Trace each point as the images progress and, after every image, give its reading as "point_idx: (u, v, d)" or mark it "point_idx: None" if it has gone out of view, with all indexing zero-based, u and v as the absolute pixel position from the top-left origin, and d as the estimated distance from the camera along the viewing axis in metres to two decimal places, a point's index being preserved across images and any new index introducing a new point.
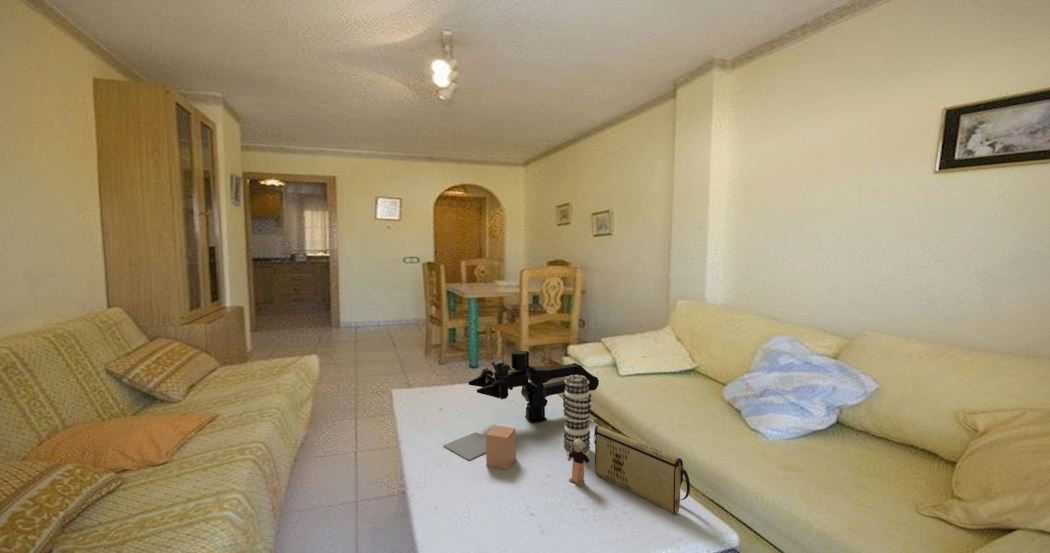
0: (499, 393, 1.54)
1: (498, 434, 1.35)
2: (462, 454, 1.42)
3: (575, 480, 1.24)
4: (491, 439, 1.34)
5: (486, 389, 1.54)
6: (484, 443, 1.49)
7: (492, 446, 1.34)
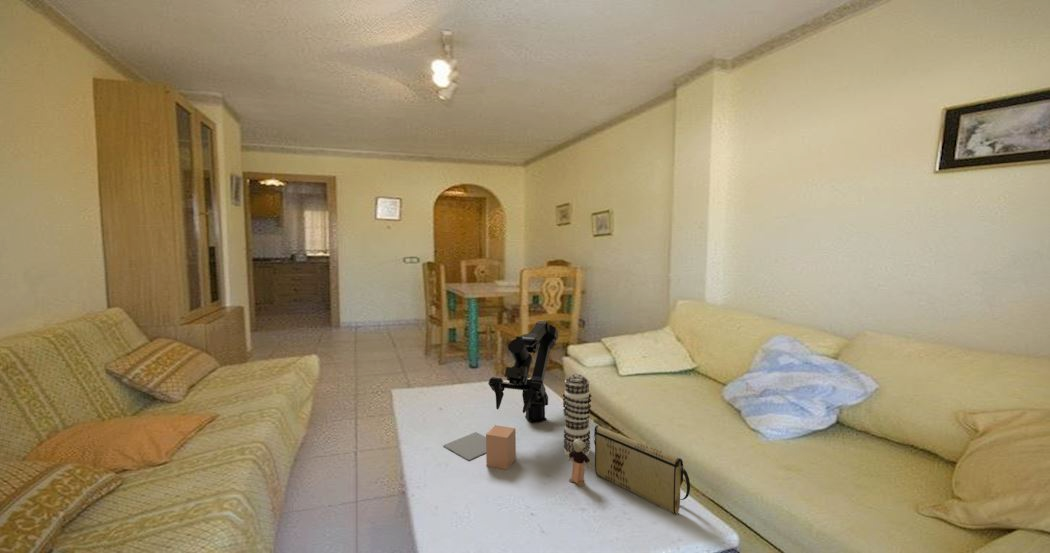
0: (538, 394, 1.46)
1: (498, 434, 1.35)
2: (462, 454, 1.42)
3: (575, 480, 1.24)
4: (491, 439, 1.34)
5: (528, 403, 1.44)
6: (484, 443, 1.49)
7: (492, 446, 1.34)
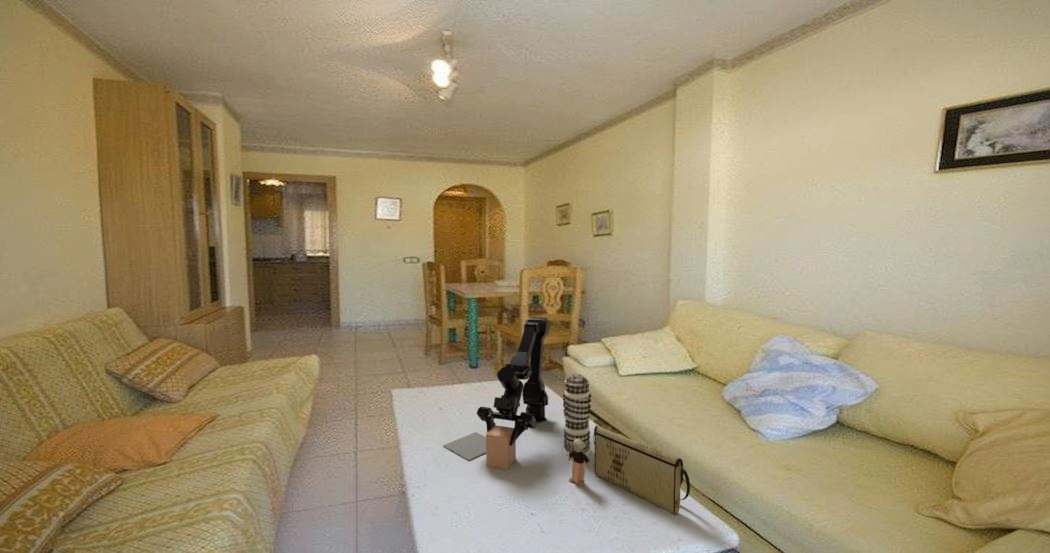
0: (526, 426, 1.38)
1: (498, 434, 1.35)
2: (462, 454, 1.42)
3: (575, 480, 1.24)
4: (491, 439, 1.34)
5: (516, 435, 1.36)
6: (484, 443, 1.49)
7: (492, 446, 1.34)
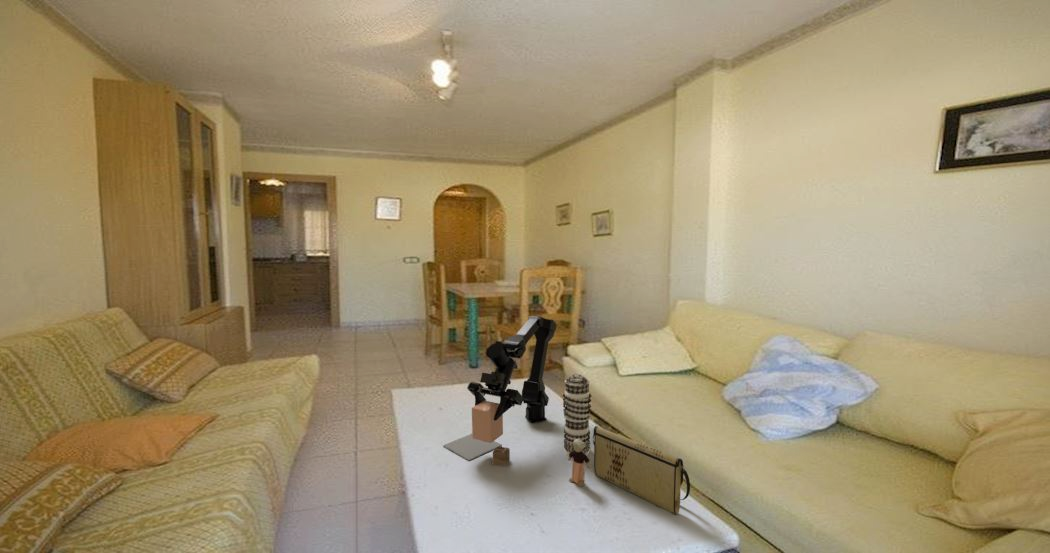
0: (513, 402, 1.40)
1: (483, 408, 1.38)
2: (462, 454, 1.42)
3: (575, 480, 1.24)
4: (476, 412, 1.38)
5: (500, 410, 1.38)
6: (484, 443, 1.49)
7: (477, 419, 1.38)
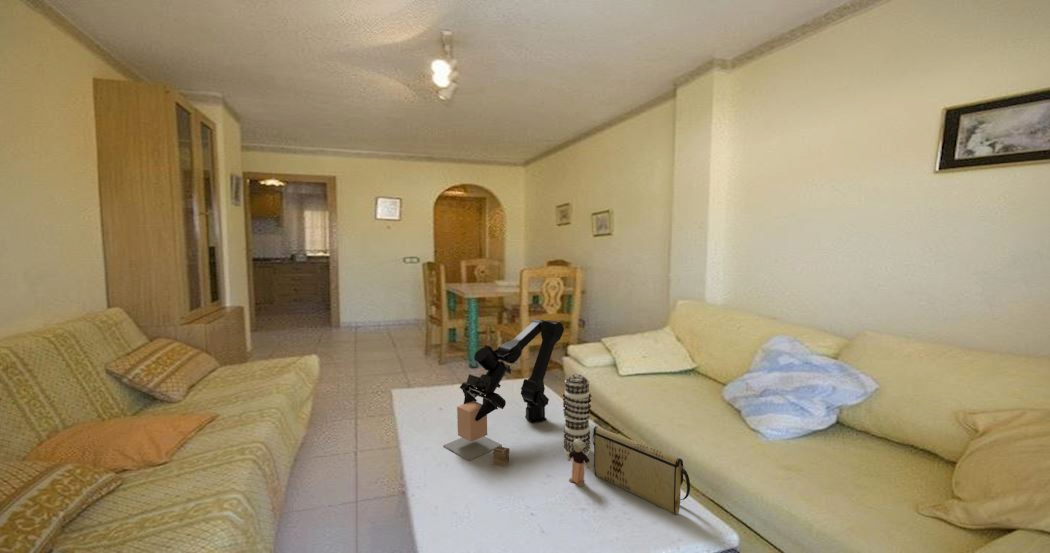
0: (495, 405, 1.45)
1: (466, 408, 1.45)
2: (462, 454, 1.42)
3: (575, 480, 1.24)
4: (460, 411, 1.46)
5: (482, 412, 1.44)
6: (484, 443, 1.49)
7: (461, 418, 1.46)
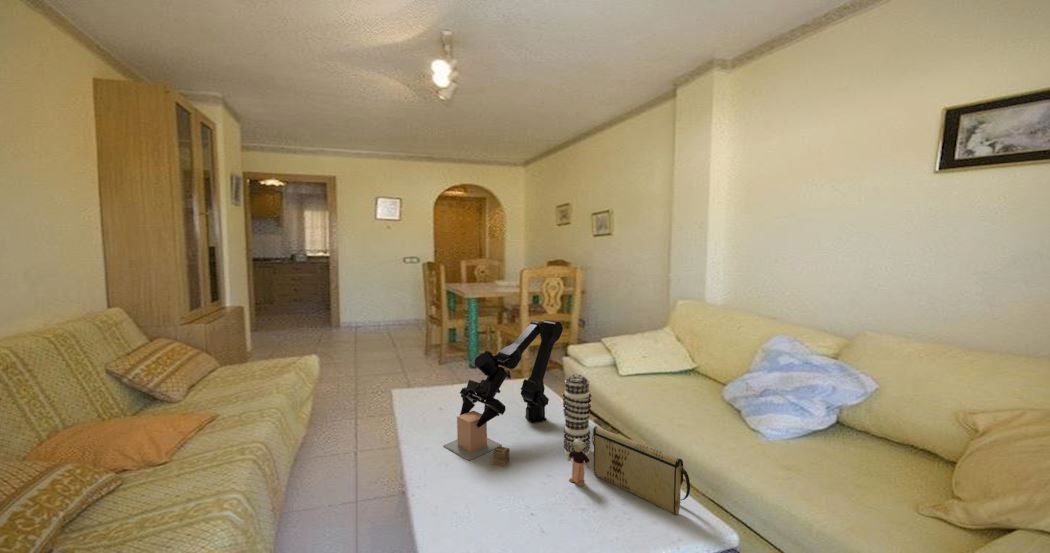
0: (497, 412, 1.45)
1: (466, 418, 1.46)
2: (462, 454, 1.42)
3: (575, 480, 1.24)
4: (460, 421, 1.46)
5: (484, 418, 1.44)
6: None
7: (461, 428, 1.46)
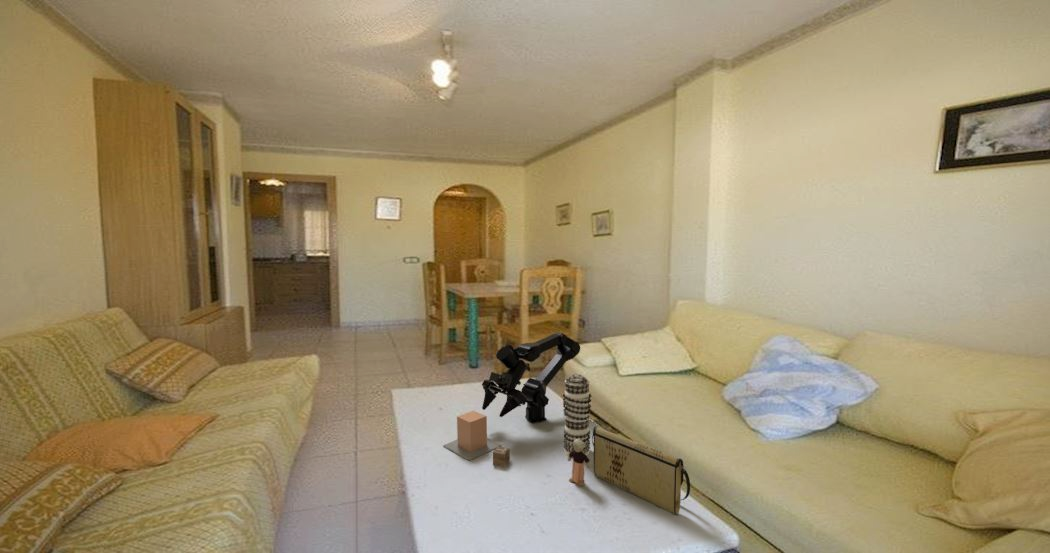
0: (519, 402, 1.52)
1: (466, 418, 1.46)
2: (462, 454, 1.42)
3: (575, 480, 1.24)
4: (460, 421, 1.46)
5: (506, 408, 1.51)
6: None
7: (461, 428, 1.46)
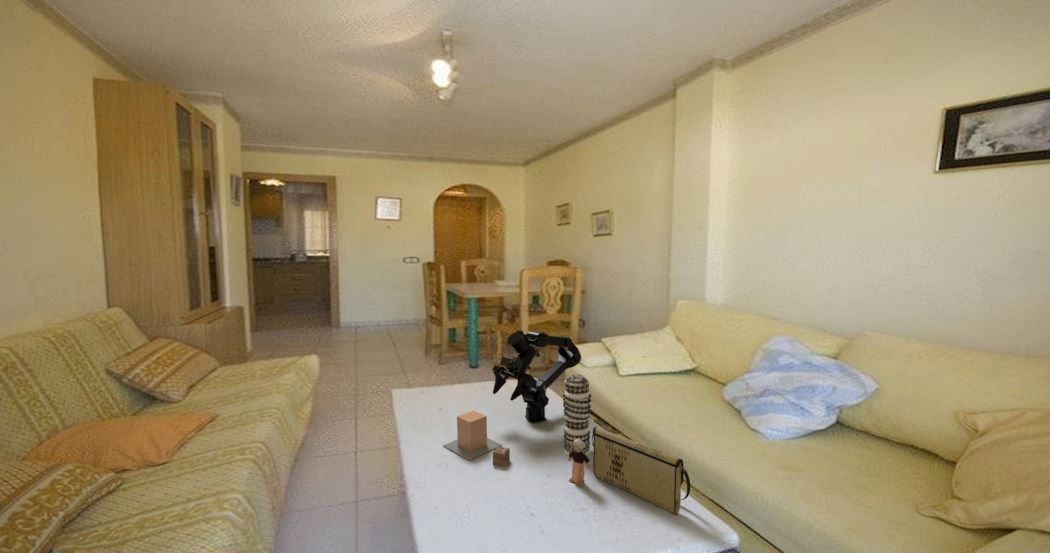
0: (529, 386, 1.55)
1: (466, 418, 1.46)
2: (462, 454, 1.42)
3: (575, 480, 1.24)
4: (460, 421, 1.46)
5: (517, 392, 1.54)
6: None
7: (461, 428, 1.46)
